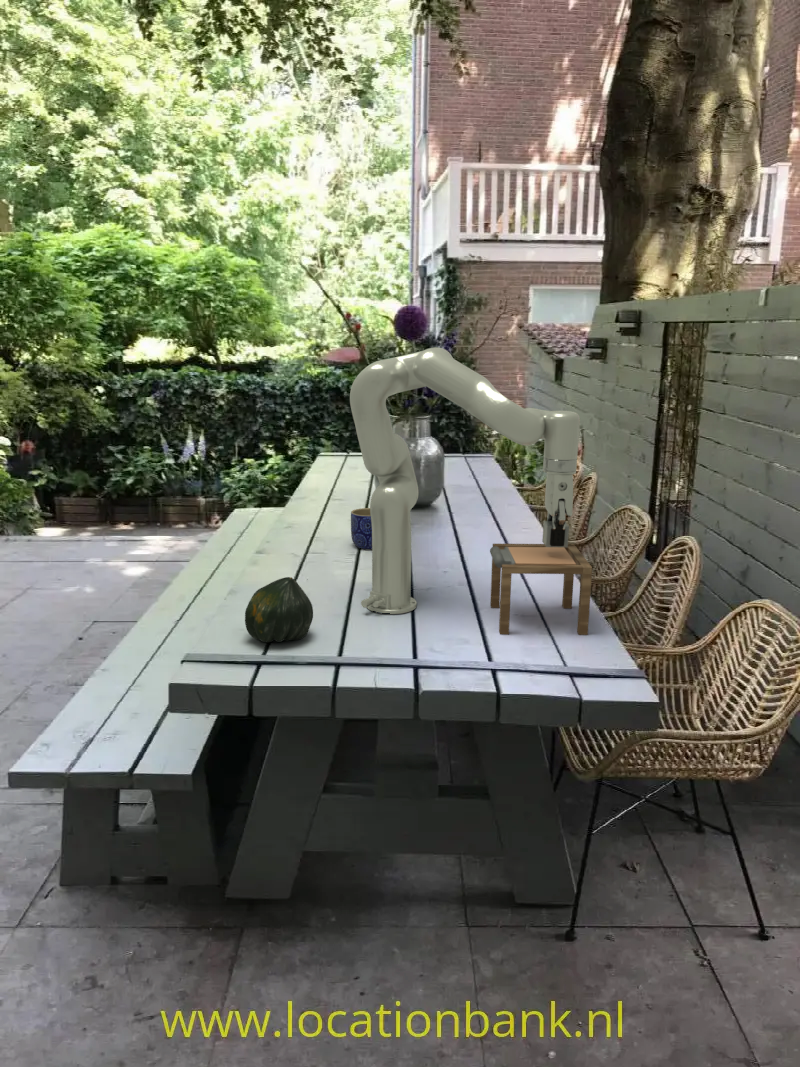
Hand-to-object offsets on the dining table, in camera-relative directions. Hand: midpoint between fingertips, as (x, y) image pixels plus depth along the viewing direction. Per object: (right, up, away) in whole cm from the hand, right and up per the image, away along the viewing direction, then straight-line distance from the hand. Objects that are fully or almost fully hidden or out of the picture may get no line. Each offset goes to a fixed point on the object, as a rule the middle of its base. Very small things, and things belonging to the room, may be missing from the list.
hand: (554, 541), depth 202 cm
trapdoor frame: (-3, -19, +5) cm, 20 cm away
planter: (-46, -2, +66) cm, 81 cm away
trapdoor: (-5, -5, +1) cm, 7 cm away
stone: (0, -1, 0) cm, 1 cm away
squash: (-63, -22, -8) cm, 67 cm away
